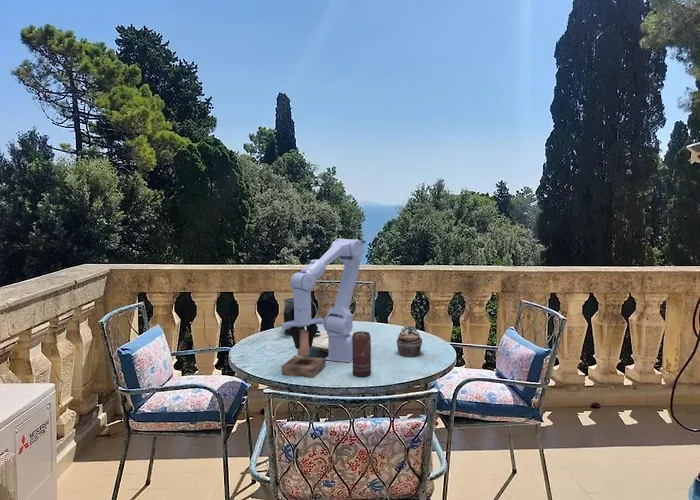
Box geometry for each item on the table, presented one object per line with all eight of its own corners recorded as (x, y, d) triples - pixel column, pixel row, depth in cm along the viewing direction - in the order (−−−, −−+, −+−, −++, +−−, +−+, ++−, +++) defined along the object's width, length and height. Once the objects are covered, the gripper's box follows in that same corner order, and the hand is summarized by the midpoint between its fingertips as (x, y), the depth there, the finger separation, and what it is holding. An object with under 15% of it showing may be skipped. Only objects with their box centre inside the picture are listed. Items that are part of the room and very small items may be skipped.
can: (370, 370, 178) (369, 330, 176) (371, 377, 171) (371, 335, 170) (352, 371, 177) (351, 330, 176) (353, 377, 171) (352, 335, 170)
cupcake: (392, 351, 199) (392, 325, 198) (416, 349, 202) (416, 323, 200) (401, 358, 190) (401, 331, 189) (426, 356, 192) (426, 329, 191)
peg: (311, 353, 179) (310, 330, 179) (306, 356, 175) (306, 332, 175) (300, 352, 180) (299, 329, 180) (295, 355, 177) (295, 332, 176)
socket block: (325, 366, 182) (325, 358, 182) (313, 377, 171) (313, 369, 171) (295, 363, 186) (295, 355, 185) (281, 374, 175) (281, 365, 174)
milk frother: (285, 330, 232) (284, 297, 230) (320, 329, 232) (320, 296, 231) (282, 339, 218) (281, 304, 216) (320, 338, 218) (319, 303, 217)
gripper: (317, 303, 183) (318, 341, 184) (278, 308, 176) (279, 347, 178) (325, 307, 177) (326, 346, 178) (285, 312, 170) (286, 352, 172)
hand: (303, 347), depth 178 cm, fingers closed on peg, 4 cm apart
